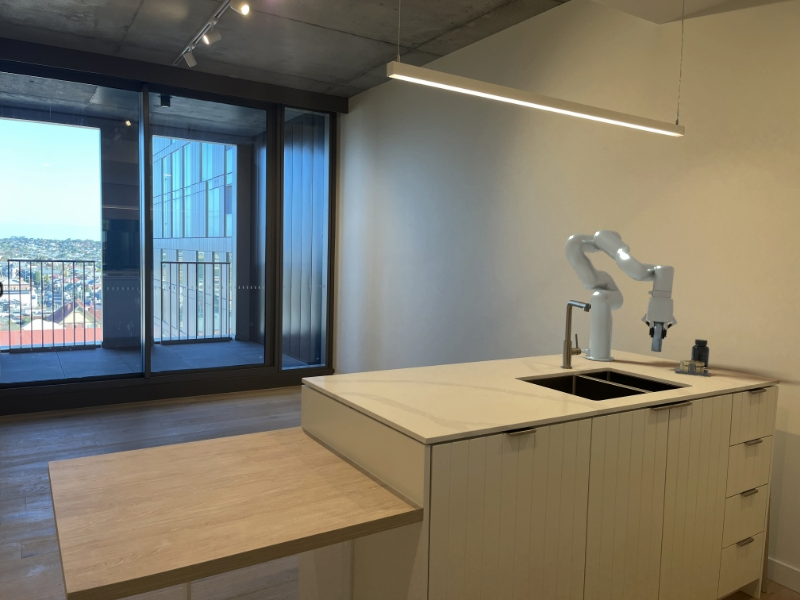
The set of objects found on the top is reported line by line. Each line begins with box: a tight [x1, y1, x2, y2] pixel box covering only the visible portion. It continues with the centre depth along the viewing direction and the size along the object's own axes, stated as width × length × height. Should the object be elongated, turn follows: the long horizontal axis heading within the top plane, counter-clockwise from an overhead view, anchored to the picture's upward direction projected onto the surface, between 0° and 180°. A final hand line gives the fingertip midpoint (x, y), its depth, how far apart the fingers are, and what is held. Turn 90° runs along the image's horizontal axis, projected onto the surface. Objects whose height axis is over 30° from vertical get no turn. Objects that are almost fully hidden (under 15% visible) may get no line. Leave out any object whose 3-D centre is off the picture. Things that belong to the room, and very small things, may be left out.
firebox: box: [674, 359, 709, 377], centre depth 249 cm, size 12×12×4 cm
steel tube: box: [650, 321, 664, 353], centre depth 258 cm, size 4×4×14 cm
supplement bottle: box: [690, 338, 710, 367], centre depth 266 cm, size 7×7×12 cm
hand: (657, 337), depth 258 cm, fingers closed on steel tube, 4 cm apart
